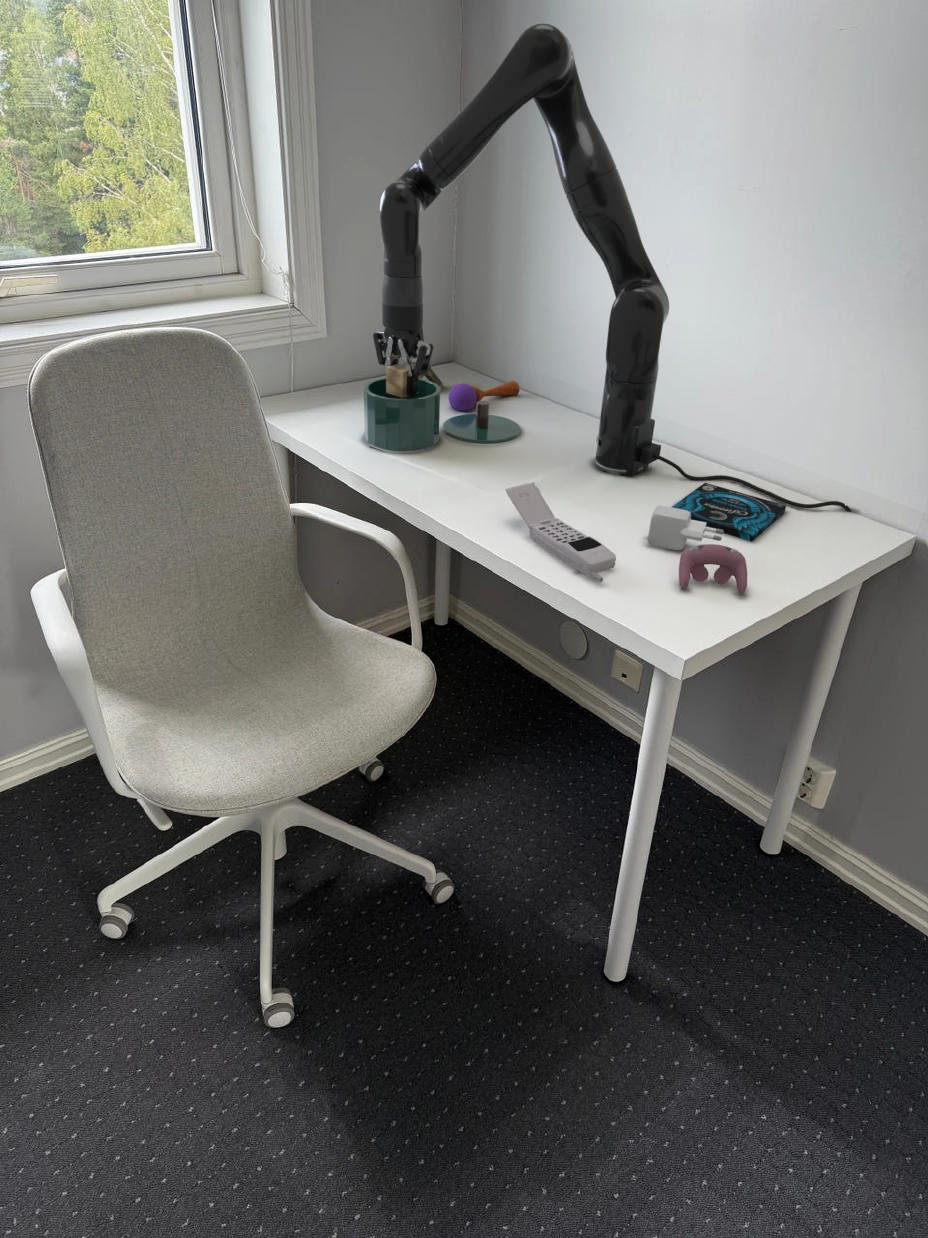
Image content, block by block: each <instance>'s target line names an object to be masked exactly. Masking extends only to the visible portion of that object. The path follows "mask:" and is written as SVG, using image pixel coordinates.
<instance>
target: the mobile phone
mask: <svg viewBox="0 0 928 1238" xmlns="http://www.w3.org/2000/svg"><path fill="white" fill-rule="evenodd" d="M504 491H505V492H506V494H507V497H508V498H509V499H510V501H511V503H512V504H513V506H514V508H515V509H516V511H517V512H518V514H519V515H520V517H521V519H522V520H523V521H524V523H525V524H526V526H527V528H528V530H529V531H528V533H529V537H530V539H531V540H533V541H534V542H536V543H537V544H538V545H540V546H541V547H542V548H543V549H545V550H546V551H548V552H549V553H551V554H552V555H553V556H555V557H556V558H558V559H559V560H561V561H563V562H564V563H566V564H567V565H568V566H569V567H571V568H573V570H576V571H577V572H580V573H582V574H585V575H587V576H588V577H589V578H592V579H593V580H595V581H597V582H599V583H602V582H603V581H604V578H603V577H602V576H601V575H600V574H599V573H601V572H604V571H608V570H611V569H614V568H615V566H616V561H617V555H616V554H615V552H613V551H611V550H610V549H609V548H608V547H607V546H606V545H604V544H603V543H602V542H600V541H598V540H597V539H596V538H594V537H592V536H588V535H587V534H585V533H583V532H582V531H580V530H578V529H576V528H574V527H572V526H571V525H570V524H568V523H566V522H564V521H563V520H560V518H558V517H557V518H556V516H555V515H554V513H553V511H552V510H551V509H550V506H549V505H548V503H547V502H546V500H545V498H544V496H543V495H542V493H541V490H540V488H539V487H538V486H537V485H536V484H535V483H534V482H530V483H524V484H519V485H514V486H511V487H509V488H505V489H504Z"/></svg>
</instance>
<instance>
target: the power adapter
mask: <svg viewBox="0 0 928 1238" xmlns="http://www.w3.org/2000/svg"><path fill="white" fill-rule="evenodd" d="M705 532H710V533H714V534H709V533H705ZM716 534H719V535H716ZM724 534H725V533H724V530H721V529H715V528H710V527H706V522H701V521H695V520H691V512H689V511H687V510H683V509H678V508H672V506H666V505H656V506H655V509H654V510H653V512H652V514H651V518H650V523H649V529H648V537H647V542H648V544H649V545H651V546H654V547H659V548H663V549H668V550H673V551H683V549H684V548H685V547H686V545H687V542H688V541H687V540H692V541H696V542H697V541H698V542H702V540H703V539H710V540H714V541H722V536H721V535H724Z"/></svg>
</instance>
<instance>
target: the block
mask: <svg viewBox="0 0 928 1238" xmlns="http://www.w3.org/2000/svg"><path fill="white" fill-rule="evenodd" d="M412 369H414V368H413V366H412ZM407 376H408V375H407V371H406V366H405V365H404V364H403V362H399V364H395V365H392V366H388V367H386V369H385V378H386V393H389V394H392V395H395V396H398V397H401V398H404V397H408V396H409V395H407ZM417 393H418V392H417Z"/></svg>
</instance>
